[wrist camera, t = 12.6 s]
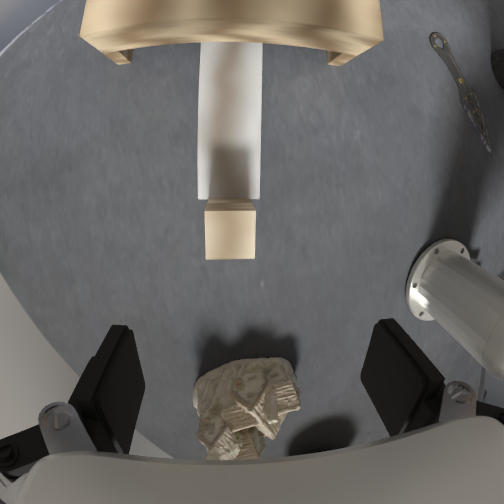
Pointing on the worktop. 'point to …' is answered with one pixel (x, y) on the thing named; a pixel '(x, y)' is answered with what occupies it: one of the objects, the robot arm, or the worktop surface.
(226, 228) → the tan piece
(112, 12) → the oak bench
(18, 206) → the worktop surface
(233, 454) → the ceramic cottage
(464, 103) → the throwing knife
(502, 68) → the travel mug
